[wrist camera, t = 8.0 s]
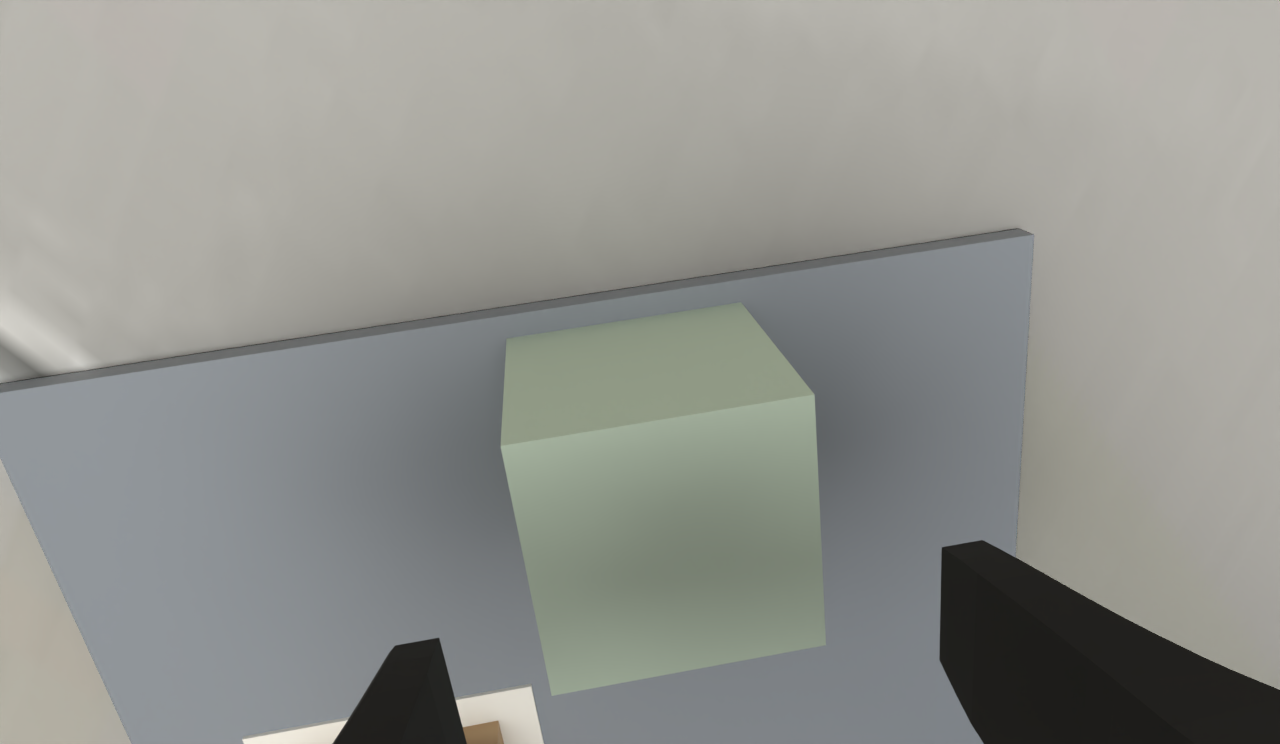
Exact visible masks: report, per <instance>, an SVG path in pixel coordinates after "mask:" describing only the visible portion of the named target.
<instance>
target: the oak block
mask: <svg viewBox="0 0 1280 744" xmlns="http://www.w3.org/2000/svg"><path fill="white" fill-rule="evenodd" d="M463 731H464V734H465V738H466V742H467V744H504V742H503V738H502V733H501V729H500V725H499V721H493V722H488V723H483V724H477V725H472V726H467V727H463Z"/></svg>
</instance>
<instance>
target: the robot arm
mask: <svg viewBox="0 0 1280 744" xmlns="http://www.w3.org/2000/svg"><path fill="white" fill-rule="evenodd" d="M939 660H940V662H941V664H942V666H943V669H944V671H945V673H946V675H947V677H948V679H949V681H950V683H951V685H952V687H953V689H954V691H955V693H956V696H957V697H958V699H959V701H960V703H961V705H962V707H963V709H964V711H965V713H966V715H967V717H968V719H969V721H970V723H971V725H972V726H973V728H974V729H975V731H976V732H977V734H978V735H979V737H980V739H981V740H982V742H983V743H984V744H1280V690H1278V689H1276V688H1274V687H1271V686H1269V685H1266V684H1264V683H1262V682H1259V681H1257V680H1254V679H1252V678H1249V677H1247V676H1245V675H1242V674H1240V673H1237V672H1235V671H1233V670H1230V669H1228V668H1226V667H1224V666H1221V665H1219V664H1217V663H1215V662H1213V661H1210V660H1208V659H1206V658H1204V657H1202V656H1200V655H1198V654H1195V653H1193V652H1191V651H1189V650H1187V649H1185V648H1183V647H1181V646H1179V645H1177V644H1175V643H1173V642H1171V641H1169V640H1167V639H1165V638H1162V637H1160V636H1158V635H1156V634H1154V633H1152V632H1150V631H1148V630H1147V629H1145V628H1143V627H1141V626H1139V625H1137V624H1135V623H1133V622H1131V621H1129V620H1127V619H1125V618H1123V617H1121V616H1120V615H1118V614H1116V613H1114V612H1112V611H1110V610H1108V609H1107V608H1105V607H1103V606H1101V605H1099V604H1097V603H1096V602H1094V601H1092V600H1090V599H1088V598H1086V597H1085V596H1083V595H1081V594H1079V593H1077V592H1076V591H1074V590H1072V589H1070V588H1068V587H1067V586H1065V585H1063V584H1061V583H1060V582H1058V581H1056V580H1054V579H1053V578H1051V577H1049V576H1047V575H1045V574H1044V573H1042V572H1040V571H1038V570H1037V569H1035V568H1033V567H1031V566H1030V565H1028V564H1026V563H1024V562H1022V561H1021V560H1019V559H1017V558H1015V557H1014V556H1012V555H1010V554H1008V553H1006V552H1005V551H1003V550H1001V549H999V548H997V547H995V546H993V545H991V544H989V543H987V542H985V541H983V540H980V541H974V542H968V543H963V544H957V545H952V546H946V547H942V554H941V604H940V655H939ZM332 744H467V742H466V738H465V734H464V731H463V727H462V723H461V719H460V715H459V712H458V708H457V704H456V700H455V696H454V692H453V689H452V685H451V681H450V677H449V673H448V670H447V666H446V662H445V658H444V654H443V650H442V647H441V643H440V639H439V638H434V639H429V640H423V641H418V642H412V643H406V644H401V645H395V646H394V647H393V649H392V650H391V651H390V652H389V654H388V655H387V657H386V659H385V660H384V662H383V663H382V665H381V667H380V668H379V670H378V672H377V673H376V675H375V677H374V678H373V680H372V682H371V683H370V685H369V687H368V688H367V690H366V692H365V693H364V695H363V697H362V698H361V700H360V701H359V703H358V705H357V706H356V708H355V709H354V711H353V713H352V714H351V716H350V717H349V719H348V721H347V722H346V724H345V725H344V727H343V728H342V730H341V731H340V733H339V734H338V736H337V737H336V739H335V740H334V742H333V743H332Z"/></svg>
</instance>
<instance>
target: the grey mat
mask: <svg viewBox="0 0 1280 744" xmlns="http://www.w3.org/2000/svg"><path fill="white" fill-rule="evenodd" d="M1033 245H1034V234H1031V233H1029V232H1026V231H1024V230H1021V229H1014V230H1007V231H1001V232H994V233H988V234H981V235H974V236H968V237H961V238H955V239H948V240H942V241H935V242H929V243H922V244H915V245H909V246H902V247H896V248H889V249H883V250H876V251H869V252H863V253H856V254H850V255H843V256H837V257H830V258H824V259H817V260H810V261H804V262H797V263H791V264H784V265H778V266H771V267H764V268H758V269H751V270H745V271H738V272H732V273H725V274H719V275H712V276H705V277H699V278H692V279H686V280H679V281H673V282H666V283H659V284H653V285H646V286H640V287H633V288H627V289H620V290H614V291H607V292H600V293H594V294H587V295H581V296H574V297H568V298H561V299H554V300H548V301H541V302H535V303H528V304H522V305H515V306H508V307H502V308H495V309H489V310H482V311H476V312H469V313H463V314H456V315H449V316H443V317H436V318H430V319H423V320H417V321H410V322H403V323H397V324H390V325H384V326H377V327H371V328H364V329H358V330H351V331H344V332H338V333H331V334H325V335H318V336H312V337H305V338H298V339H292V340H285V341H279V342H272V343H266V344H259V345H253V346H246V347H239V348H233V349H226V350H220V351H213V352H207V353H200V354H193V355H187V356H180V357H174V358H167V359H161V360H154V361H148V362H141V363H134V364H128V365H121V366H115V367H108V368H102V369H95V370H88V371H82V372H75V373H69V374H62V375H56V376H49V377H43V378H36V379H29V380H23V381H16V382H10V383H3V384H0V458H1V461H2V463H3V465H4V467H5V469H6V472H7V474H8V476H9V478H10V480H11V482H12V485H13V487H14V489H15V491H16V493H17V495H18V498H19V500H20V502H21V504H22V506H23V509H24V511H25V513H26V515H27V517H28V519H29V522H30V524H31V526H32V528H33V530H34V532H35V535H36V537H37V539H38V541H39V543H40V545H41V548H42V550H43V552H44V554H45V556H46V559H47V561H48V563H49V565H50V567H51V569H52V572H53V574H54V576H55V578H56V580H57V582H58V585H59V587H60V589H61V591H62V593H63V596H64V598H65V600H66V602H67V604H68V606H69V609H70V611H71V613H72V615H73V617H74V619H75V622H76V624H77V626H78V628H79V630H80V633H81V635H82V637H83V639H84V641H85V643H86V646H87V648H88V650H89V652H90V654H91V656H92V659H93V661H94V663H95V665H96V667H97V670H98V672H99V674H100V676H101V678H102V680H103V683H104V685H105V687H106V689H107V691H108V693H109V696H110V698H111V700H112V702H113V704H114V706H115V709H116V711H117V713H118V715H119V717H120V720H121V722H122V724H123V726H124V728H125V730H126V733H127V735H128V737H129V739H130V741H131V743H132V744H332V743H333V742H334V740H335V739H336V737H337V736H338V734H339V733H340V731H341V730H342V728H343V727H344V725H345V724H346V722H347V721H348V719H349V717H350V716H351V714H352V713H353V711H354V709H355V708H356V706H357V705H358V703H359V701H360V700H361V698H362V697H363V695H364V693H365V692H366V690H367V688H368V687H369V685H370V683H371V682H372V680H373V678H374V677H375V675H376V673H377V672H378V670H379V668H380V667H381V665H382V663H383V662H384V660H385V659H386V657H387V655H388V654H389V652H390V651H391V650H392V649H393V647H394V646H395V645H401V644H406V643H412V642H418V641H423V640H429V639H434V638H439V639H440V643H441V647H442V650H443V654H444V658H445V662H446V666H447V670H448V673H449V677H450V681H451V685H452V689H453V692H454V696H455V700H456V704H457V708H458V712H459V715H460V719H461V723H462V727H467V726H472V725H477V724H483V723H488V722H493V721H499V725H500V729H501V733H502V738H503V742H504V744H984V743H983V742H982V740H981V739H980V737H979V735H978V734H977V732H976V731H975V729H974V728H973V726H972V725H971V723H970V721H969V719H968V717H967V715H966V713H965V711H964V709H963V707H962V705H961V703H960V701H959V699H958V697H957V696H956V693H955V691H954V689H953V687H952V685H951V683H950V681H949V679H948V677H947V675H946V673H945V671H944V669H943V666H942V664H941V662H940V660H939V655H940V604H941V554H942V547H946V546H952V545H957V544H963V543H968V542H974V541H980V540H983V541H985V542H987V543H989V544H991V545H993V546H995V547H997V548H999V549H1001V550H1003V551H1005V552H1006V553H1008V554H1010V555H1012V556H1014V557H1015V556H1016V539H1017V522H1018V505H1019V487H1020V470H1021V453H1022V435H1023V418H1024V401H1025V383H1026V366H1027V349H1028V331H1029V314H1030V297H1031V279H1032V262H1033ZM740 302H741V303H742V304H743V305H744V307H745V308H746V309H747V310H748V312H749V313H750V314H751V315H752V317H753V318H754V319H755V320H756V322H757V323H758V324H759V325H760V327H761V328H762V329H763V330H764V332H765V333H766V334H767V335H768V337H769V338H770V339H771V340H772V342H773V343H774V344H775V345H776V347H777V348H778V349H779V351H780V352H781V353H782V354H783V356H784V357H785V358H786V359H787V361H788V362H789V363H790V364H791V366H792V367H793V368H794V369H795V371H796V372H797V373H798V374H799V376H800V377H801V378H802V379H803V381H804V382H805V383H806V384H807V386H808V387H809V388H810V389H811V391H812V392H813V393H814V394H815V415H816V437H817V459H818V481H819V503H820V525H821V547H822V569H823V591H824V613H825V635H826V645H824V646H819V647H813V648H808V649H803V650H797V651H792V652H786V653H781V654H776V655H770V656H765V657H759V658H754V659H748V660H743V661H738V662H732V663H727V664H721V665H716V666H711V667H705V668H700V669H694V670H689V671H684V672H678V673H673V674H667V675H662V676H657V677H651V678H646V679H640V680H635V681H630V682H624V683H619V684H613V685H608V686H603V687H597V688H592V689H586V690H581V691H576V692H570V693H565V694H559V695H554V696H552V695H551V690H550V685H549V680H548V675H547V671H546V666H545V661H544V656H543V651H542V646H541V641H540V636H539V632H538V627H537V622H536V617H535V612H534V607H533V602H532V597H531V593H530V588H529V583H528V578H527V573H526V568H525V563H524V558H523V553H522V549H521V544H520V539H519V534H518V529H517V524H516V519H515V514H514V510H513V505H512V500H511V495H510V490H509V485H508V480H507V475H506V470H505V466H504V461H503V456H502V451H501V428H502V411H503V393H504V376H505V358H506V340H507V338H514V337H520V336H527V335H533V334H540V333H546V332H553V331H559V330H566V329H572V328H578V327H585V326H591V325H598V324H604V323H611V322H617V321H624V320H630V319H637V318H643V317H649V316H656V315H662V314H669V313H675V312H682V311H688V310H695V309H701V308H707V307H714V306H720V305H727V304H733V303H740Z"/></svg>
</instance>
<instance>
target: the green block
mask: <svg viewBox="0 0 1280 744" xmlns="http://www.w3.org/2000/svg"><path fill="white" fill-rule="evenodd" d="M501 451H502V456H503V461H504V466H505V470H506V475H507V480H508V485H509V490H510V495H511V500H512V505H513V510H514V514H515V519H516V524H517V529H518V534H519V539H520V544H521V549H522V553H523V558H524V563H525V568H526V573H527V578H528V583H529V588H530V593H531V597H532V602H533V607H534V612H535V617H536V622H537V627H538V632H539V636H540V641H541V646H542V651H543V656H544V661H545V666H546V671H547V675H548V680H549V685H550V690H551V695H552V696H554V695H559V694H565V693H570V692H576V691H581V690H586V689H592V688H597V687H603V686H608V685H613V684H619V683H624V682H630V681H635V680H640V679H646V678H651V677H657V676H662V675H667V674H673V673H678V672H684V671H689V670H694V669H700V668H705V667H711V666H716V665H721V664H727V663H732V662H738V661H743V660H748V659H754V658H759V657H765V656H770V655H776V654H781V653H786V652H792V651H797V650H803V649H808V648H813V647H819V646H824V645H826V635H825V613H824V591H823V569H822V547H821V525H820V503H819V481H818V459H817V437H816V415H815V394H814V393H813V392H812V391H811V389H810V388H809V387H808V386H807V384H806V383H805V382H804V381H803V379H802V378H801V377H800V376H799V374H798V373H797V372H796V371H795V369H794V368H793V367H792V366H791V364H790V363H789V362H788V361H787V359H786V358H785V357H784V356H783V354H782V353H781V352H780V351H779V349H778V348H777V347H776V345H775V344H774V343H773V342H772V340H771V339H770V338H769V337H768V335H767V334H766V333H765V332H764V330H763V329H762V328H761V327H760V325H759V324H758V323H757V322H756V320H755V319H754V318H753V317H752V315H751V314H750V313H749V312H748V310H747V309H746V308H745V307H744V305H743V304H742V303H741V302H740V303H733V304H727V305H720V306H714V307H707V308H701V309H695V310H688V311H682V312H675V313H669V314H662V315H656V316H649V317H643V318H637V319H630V320H624V321H617V322H611V323H604V324H598V325H591V326H585V327H578V328H572V329H566V330H559V331H553V332H546V333H540V334H533V335H527V336H520V337H514V338H507V340H506V358H505V376H504V393H503V411H502V428H501Z"/></svg>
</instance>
